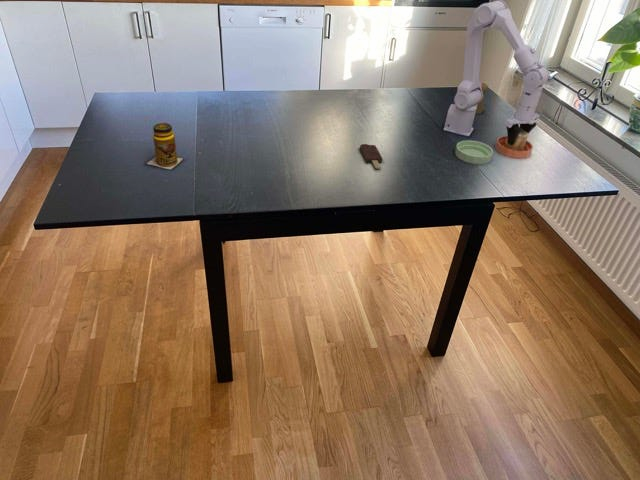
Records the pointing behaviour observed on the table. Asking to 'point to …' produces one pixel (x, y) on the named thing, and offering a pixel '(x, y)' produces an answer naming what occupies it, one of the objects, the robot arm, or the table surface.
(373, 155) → the ice cream bar
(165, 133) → the condiment
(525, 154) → the terracotta bowl
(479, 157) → the celadon bowl
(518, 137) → the box
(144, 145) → the table surface
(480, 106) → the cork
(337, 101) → the table surface
